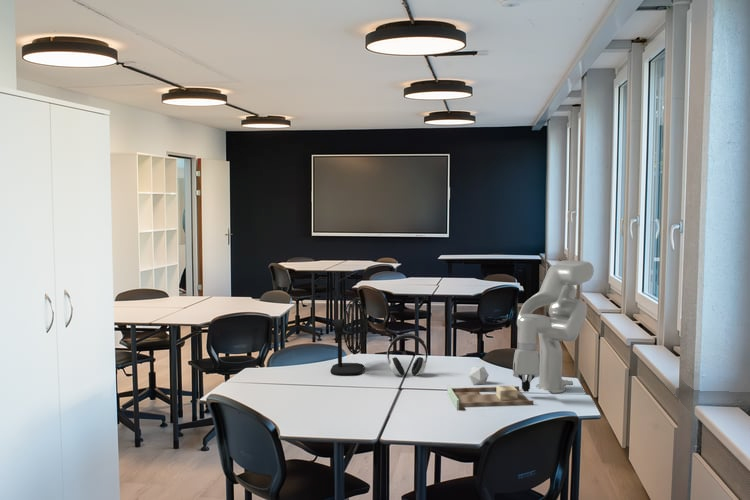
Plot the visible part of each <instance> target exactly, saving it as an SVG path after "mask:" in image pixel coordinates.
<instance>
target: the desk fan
mask: <svg viewBox="0 0 750 500" xmlns="http://www.w3.org/2000/svg"><path fill="white" fill-rule="evenodd" d="M346 321H347V322H346ZM333 322H334V324H333V330H334V331H333V332H334V335H335V334H336V335H337V363H335V364H333V365H332V366H331V368H330V373H331V374H333V375H335V376H336V375H338V376H354V375H360V374H362V373H363V372H364V370H365V365H364V364H363V363H359V362H343V349H342V348H343V344H342V343H343V341H342V340H343V339H342V338H344V343H345V346H346V348H347V349H348V351H349V352H350V353H351V354H352V355H357V354H359V353H360V352H361V351H362V349H363V348H364V345H365V342H366V339H367V335H368V331H369V330H368V329H369V327H368V324H369V323H368V319H367V316H366V312H365V309H364V307H363V305H362V303H361V301H359V300H358V299H356V298H354V299H351V300H350V301H349V302H348V303H347V305H346V307H345V310H344V313H343V319H341V318H340V319H334V321H333ZM354 336H355V337H354ZM354 338H355V339H354ZM354 340H355V341H354Z"/></svg>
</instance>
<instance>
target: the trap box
mask: <svg viewBox="0 0 750 500" xmlns="http://www.w3.org/2000/svg"><path fill="white" fill-rule="evenodd" d="M513 386H514V387H515V388H516V389H517V400H500V399H499V398H498V397H497V396H496V393H493V394H492V393H486V394H482V393H481V392H496V386H485V387H484V386H482V387H455V388H453V387H451V389H452V390H453V392H454V393H455V395H456V396H457V398H458V399H459V410H458V411H463V410H464V411H465V410H466V408H472V407H474V408H475V407H504V406H505V407H506V406H533V405H534V400H530V399H529V398H528V397H526V396H525V394H524V393H523V392H521V390H520V386H518V385H517V386H515V385H513Z"/></svg>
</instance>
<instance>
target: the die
mask: <svg viewBox="0 0 750 500" xmlns="http://www.w3.org/2000/svg"><path fill="white" fill-rule="evenodd" d="M468 378H469V380H470V381H471V383H472V385H473V386H485V385H486V383H487V381H488V378H489V373H488V371H487V370H486V368H485V366H472V367H471V370H470V372H469V376H468Z"/></svg>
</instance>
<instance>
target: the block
mask: <svg viewBox="0 0 750 500" xmlns="http://www.w3.org/2000/svg"><path fill="white" fill-rule="evenodd" d="M514 386H515V385H496V386H495V387H496V391H495V394H496V396H497V397H498V398H499V399H500V400H517V389H516V388H515V387H514Z"/></svg>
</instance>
